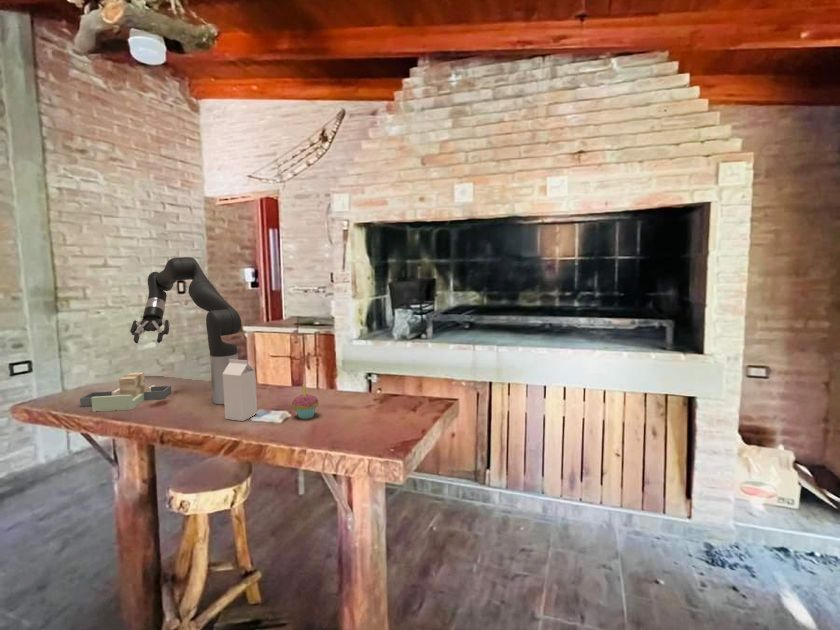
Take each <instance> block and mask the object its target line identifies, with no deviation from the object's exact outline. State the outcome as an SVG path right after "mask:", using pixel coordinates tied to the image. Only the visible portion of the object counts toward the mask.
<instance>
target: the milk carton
mask: <svg viewBox="0 0 840 630" xmlns="http://www.w3.org/2000/svg"><path fill="white" fill-rule="evenodd" d="M248 362H249V361H248V360H245V359H244V360H243V359H238V360H234V359H229V364H228V366H227V367H226V369H225V371H224V372H223V388H224V404H223V405H224V418H225V420H232V421H240V422H243V421H244V422H245V421H246V420H249V419H251V418H253V417H255V416H256V415H255V414H257V415H258V401H257V382H256V381H257V379H256V370H255V369H254V368H253V367H252V366H251V365H250V364H249V363H248ZM254 415H255V416H254ZM252 416H253V417H252ZM250 417H251V418H250Z"/></svg>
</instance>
